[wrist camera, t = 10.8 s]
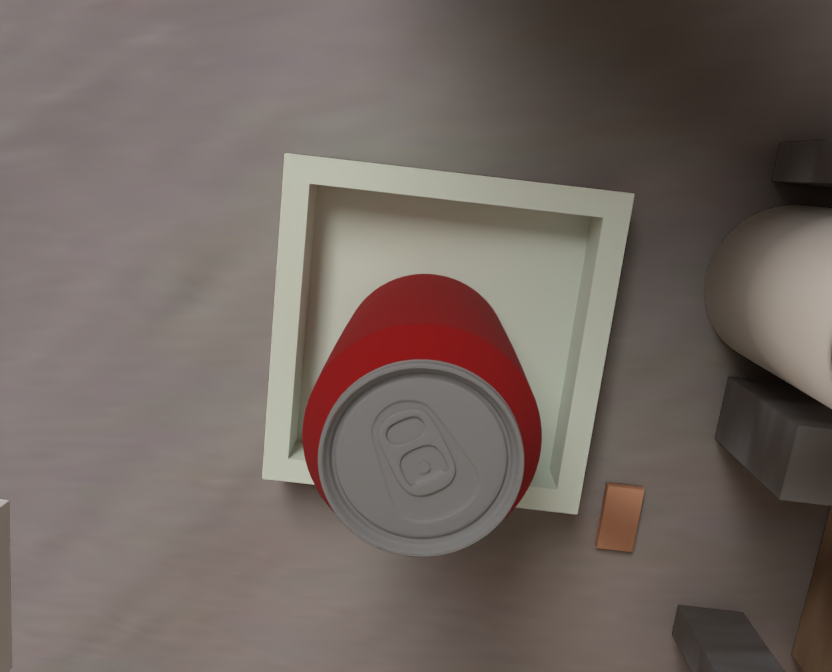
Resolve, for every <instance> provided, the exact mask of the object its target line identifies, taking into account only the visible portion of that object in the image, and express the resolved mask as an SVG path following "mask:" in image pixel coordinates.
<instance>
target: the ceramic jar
mask: <svg viewBox="0 0 832 672" xmlns="http://www.w3.org/2000/svg"><path fill="white" fill-rule="evenodd" d="M704 300H705V307H706V311H707V315H708V318H709V320H710V322H711V325H712V327H713V328H714V330H715V331H716V333H717V334H718V336H719V337H720V338H721V339H722V340H723V342H725V343H726V344H727V345H728V346H729V347H730V348H731V349H733V350H734V351H736V352H737V353H739V354H741V355H742V356H744V357H746V358H747V359H749V360H751V361H752V362H754V363H756V364H757V365H759V366H761V367H762V368H764V369H766V370H767V371H769V372H771V373H772V374H774V375H776V376H777V377H779V378H781V379H782V380H784V381H786V382H787V383H789V384H791V385H792V386H794V387H796V388H797V389H799V390H801V391H802V392H804V393H806V394H807V395H809V396H811V397H812V398H814V399H816V400H817V401H819V402H821V403H822V404H824V405H826V406H827V407H829V408H831V409H832V208H825V207H815V206H805V205H785V206H778V207H774V208H770V209H767V210H764V211H761V212H759V213H757V214H755V215H753V216H751V217H749V218H748V219H746V220H744V221H743V222H741V223H740V224H739V225H738V226H736V227H735V228H734V229H733V230H732V231H731V232H730V233H729V234H728V235H727V236H726V237H725V238H724V240H723V241H722V242H721V244H720V245H719V246H718V248H717V250H716V251H715V253H714V255H713V257H712V259H711V262H710V264H709V266H708V270H707V274H706V278H705V285H704Z"/></svg>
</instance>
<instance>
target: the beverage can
mask: <svg viewBox="0 0 832 672" xmlns="http://www.w3.org/2000/svg"><path fill="white" fill-rule="evenodd" d="M302 441H303V451H304V456H305V461H306V464H307V468H308V471H309V473H310V476H311V478H312V480H313V482H314V484H315V487H316V488H317V490H318V492H319V493H320V495H321V497H322V498H323V499H324V501H325V502H326V504H327V505H328V506H329V507H330V508H331V509H332V511H333V512H334V513H335V514H336V515H337V517H338V518H339V519H340V520H341V521H342V522H343V523H344V525H345V526H346V527H347V528H348V529H349V530H350V531H352V532H353V533H354V534H356V535H357V536H358V537H360V538H361V539H362V540H364V541H366V542H367V543H369V544H371V545H373V546H375V547H377V548H379V549H382V550H385V551H387V552H391V553H394V554H398V555H404V556H411V557H433V556H440V555H445V554H450V553H453V552H456V551H459V550H462V549H464V548H466V547H469V546H471V545H472V544H474V543H476V542H478V541H480V540H481V539H482V538H484V537H485V536H487V535H488V534H489V533H490V532H492V531H493V530H494V529H495V528H496V527H497V526H498V525H499V524H500V523H501V521H502V520H503V519H505V518H506V517H507V516H508V515H509V514H510V513H511V512H512V511H513V509H514V508H515V507H516V506H517V505H518V503H519V502H520V501H521V499H522V498H523V496H524V495H525V493H526V491H527V490H528V488H529V486H530V484H531V482H532V480H533V478H534V475H535V472H536V470H537V466H538V463H539V459H540V453H541V444H542V428H541V419H540V414H539V410H538V406H537V403H536V400H535V397H534V395H533V393H532V390H531V388H530V385H529V383H528V380H527V378H526V376H525V373H524V371H523V368H522V366H521V364H520V362H519V359H518V357H517V355H516V353H515V350H514V348H513V346H512V344H511V342H510V340H509V338H508V336H507V334H506V332H505V330H504V328H503V326H502V324H501V322H500V320H499V318H498V316H497V315H496V313H495V311H494V310H493V308H492V307H491V306H490V304H489V303H488V302H487V301H486V300H485V299H484V298H483V297H482V296H481V295H480V294H479V293H478V292H476V291H475V290H474V289H472V288H471V287H469V286H468V285H466V284H464V283H462V282H460V281H458V280H455V279H453V278H449V277H446V276H442V275H436V274H414V275H408V276H403V277H400V278H397V279H394V280H392V281H389V282H387V283H386V284H384V285H382V286H380V287H379V288H377V289H376V290H375V291H373V292H372V293H371V294H370V295H369V296H367V297H366V298H365V299H364V301H363V302H362V303H361V304H360V305H359V307H358V308H357V309H356V311H355V312H354V314H353V316H352V317H351V319H350V321H349V322H348V324H347V325H346V327H345V329H344V330H343V332H342V334H341V336H340V337H339V339H338V341H337V343H336V345H335V346H334V348H333V350H332V352H331V354H330V356H329V358H328V360H327V361H326V363H325V365H324V367H323V369H322V371H321V373H320V375H319V377H318V379H317V381H316V383H315V385H314V387H313V389H312V391H311V394H310V397H309V399H308V402H307V406H306V409H305V414H304V419H303V429H302Z"/></svg>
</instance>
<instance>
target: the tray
mask: <svg viewBox="0 0 832 672" xmlns="http://www.w3.org/2000/svg"><path fill="white" fill-rule="evenodd" d="M634 195H635V194H634V193H626V192H617V191H609V190H600V189H591V188H583V187H574V186H566V185H557V184H548V183H540V182H531V181H522V180H514V179H505V178H497V177H488V176H479V175H471V174H462V173H453V172H445V171H436V170H428V169H419V168H410V167H402V166H393V165H384V164H376V163H367V162H359V161H350V160H341V159H333V158H324V157H315V156H307V155H298V154H289V153H285V155H284V170H283V184H282V199H281V213H280V227H279V242H278V256H277V271H276V285H275V300H274V314H273V328H272V343H271V357H270V372H269V386H268V400H267V415H266V429H265V444H264V458H263V473H262V479H269V480H278V481H286V482H295V483H304V484H313V485H315V484H314V482H313V480H312V478H311V476H310V473H309V471H308V468H307V464H306V461H305V456H304V451H303V441H302V429H303V419H304V414H305V409H306V406H307V402H308V399H309V397H310V394H311V391H312V389H313V387H314V385H315V383H316V381H317V379H318V377H319V375H320V373H321V371H322V369H323V367H324V365H325V363H326V361H327V360H328V358H329V356H330V354H331V352H332V350H333V348H334V346H335V345H336V343H337V341H338V339H339V337H340V336H341V334H342V332H343V330H344V329H345V327H346V325H347V324H348V322H349V321H350V319H351V317H352V316H353V314H354V312H355V311H356V309H357V308H358V307H359V305H360V304H361V303H362V302H363V301H364V299H365V298H366V297H367V296H369V295H370V294H371V293H372V292H373V291H375V290H376V289H377V288H379V287H380V286H382V285H384V284H386V283H387V282H389V281H392V280H394V279H397V278H400V277H403V276H408V275H414V274H436V275H442V276H446V277H449V278H453V279H455V280H458V281H460V282H462V283H464V284H466V285H468V286H469V287H471V288H472V289H474V290H475V291H476V292H478V293H479V294H480V295H481V296H482V297H483V298H484V299H485V300H486V301H487V302H488V303H489V304H490V306H491V307H492V308H493V310H494V311H495V313H496V315H497V316H498V318H499V320H500V322H501V324H502V326H503V328H504V330H505V332H506V334H507V336H508V338H509V340H510V342H511V344H512V346H513V348H514V350H515V353H516V355H517V357H518V359H519V362H520V364H521V366H522V368H523V371H524V373H525V376H526V378H527V380H528V383H529V385H530V388H531V390H532V393H533V395H534V397H535V400H536V403H537V406H538V410H539V414H540V419H541V428H542V444H541V453H540V459H539V463H538V466H537V470H536V472H535V475H534V478H533V480H532V482H531V484H530V486H529V488H528V490H527V491H526V493H525V495H524V496H523V498H522V499H521V501H520V502H519V503H518V505H517V506H516V507H515V508H524V509H533V510H541V511H550V512H559V513H568V514H578V509H579V503H580V498H581V492H582V486H583V481H584V475H585V470H586V464H587V458H588V453H589V447H590V442H591V436H592V430H593V425H594V419H595V414H596V408H597V402H598V397H599V391H600V386H601V380H602V374H603V369H604V363H605V358H606V352H607V346H608V341H609V335H610V330H611V324H612V318H613V313H614V307H615V302H616V296H617V290H618V285H619V279H620V274H621V268H622V262H623V257H624V251H625V246H626V240H627V234H628V229H629V223H630V217H631V212H632V206H633V201H634Z"/></svg>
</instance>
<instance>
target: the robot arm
mask: <svg viewBox="0 0 832 672" xmlns="http://www.w3.org/2000/svg"><path fill="white" fill-rule="evenodd" d="M11 668H12V627H11V564H10V502H9V500H3V499H0V672H9V671H10V669H11Z"/></svg>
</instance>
